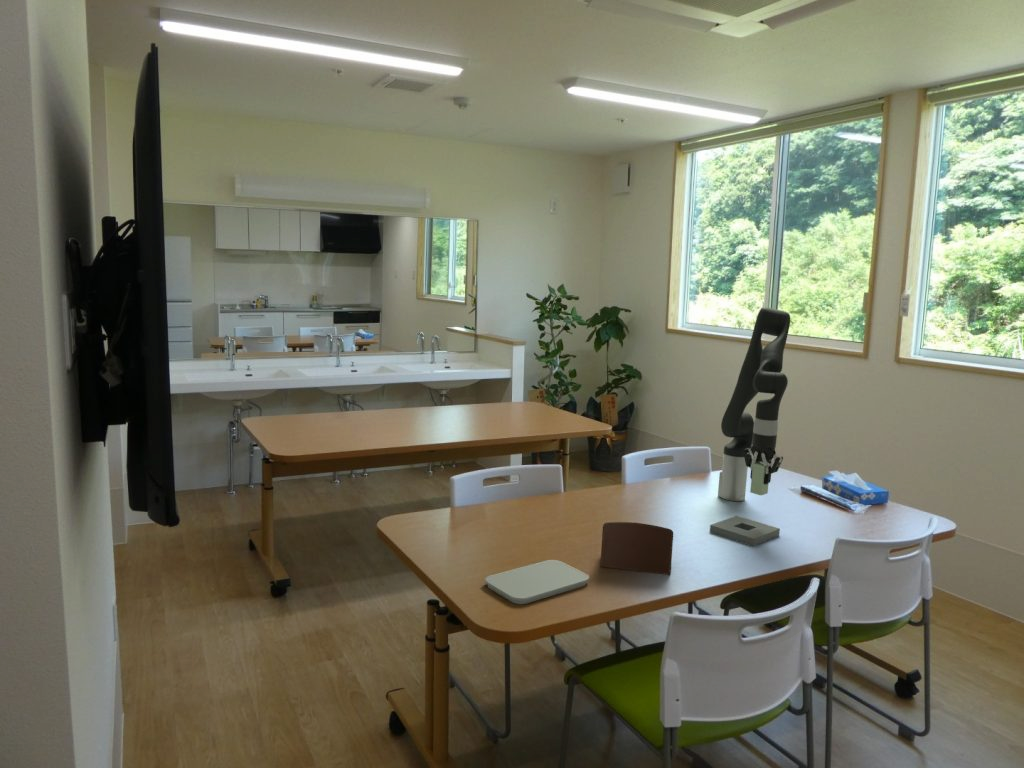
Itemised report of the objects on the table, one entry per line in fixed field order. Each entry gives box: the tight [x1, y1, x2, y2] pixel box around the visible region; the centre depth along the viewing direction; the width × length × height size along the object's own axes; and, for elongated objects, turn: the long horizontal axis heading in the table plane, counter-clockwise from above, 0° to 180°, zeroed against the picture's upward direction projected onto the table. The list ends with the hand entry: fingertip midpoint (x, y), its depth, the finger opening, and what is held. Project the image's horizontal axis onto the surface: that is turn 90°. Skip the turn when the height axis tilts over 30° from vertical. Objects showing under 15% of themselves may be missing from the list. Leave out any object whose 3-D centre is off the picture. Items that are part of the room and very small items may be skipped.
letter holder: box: [599, 521, 674, 576], centre depth 215 cm, size 10×20×14 cm, turn 78°
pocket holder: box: [709, 515, 781, 547], centre depth 246 cm, size 16×16×2 cm
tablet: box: [484, 559, 590, 605], centre depth 200 cm, size 16×26×2 cm, turn 127°
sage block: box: [749, 462, 769, 496], centre depth 248 cm, size 4×4×10 cm
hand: (759, 481), depth 248 cm, fingers closed on sage block, 4 cm apart
